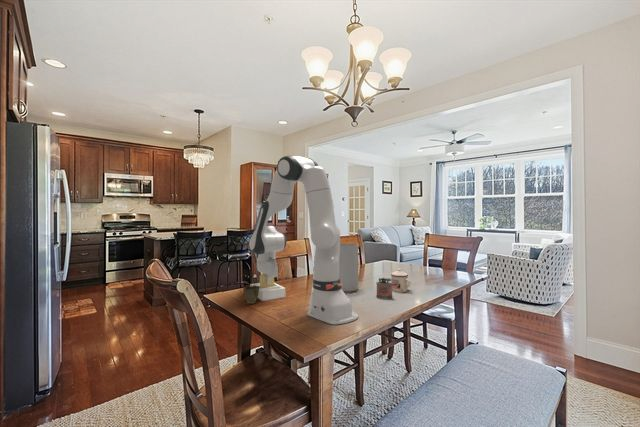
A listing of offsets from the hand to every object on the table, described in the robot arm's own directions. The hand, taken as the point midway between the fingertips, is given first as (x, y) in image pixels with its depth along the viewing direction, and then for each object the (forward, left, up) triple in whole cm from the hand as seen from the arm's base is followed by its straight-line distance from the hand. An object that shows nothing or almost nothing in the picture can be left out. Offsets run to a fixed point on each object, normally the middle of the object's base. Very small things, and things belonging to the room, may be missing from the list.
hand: (267, 282), depth 152 cm
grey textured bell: (-10, +12, -7) cm, 17 cm away
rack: (0, 0, -6) cm, 6 cm away
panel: (0, 0, -4) cm, 4 cm away
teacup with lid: (-33, -65, -7) cm, 73 cm away
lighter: (-37, -48, -7) cm, 61 cm away
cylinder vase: (-14, -42, -7) cm, 45 cm away
